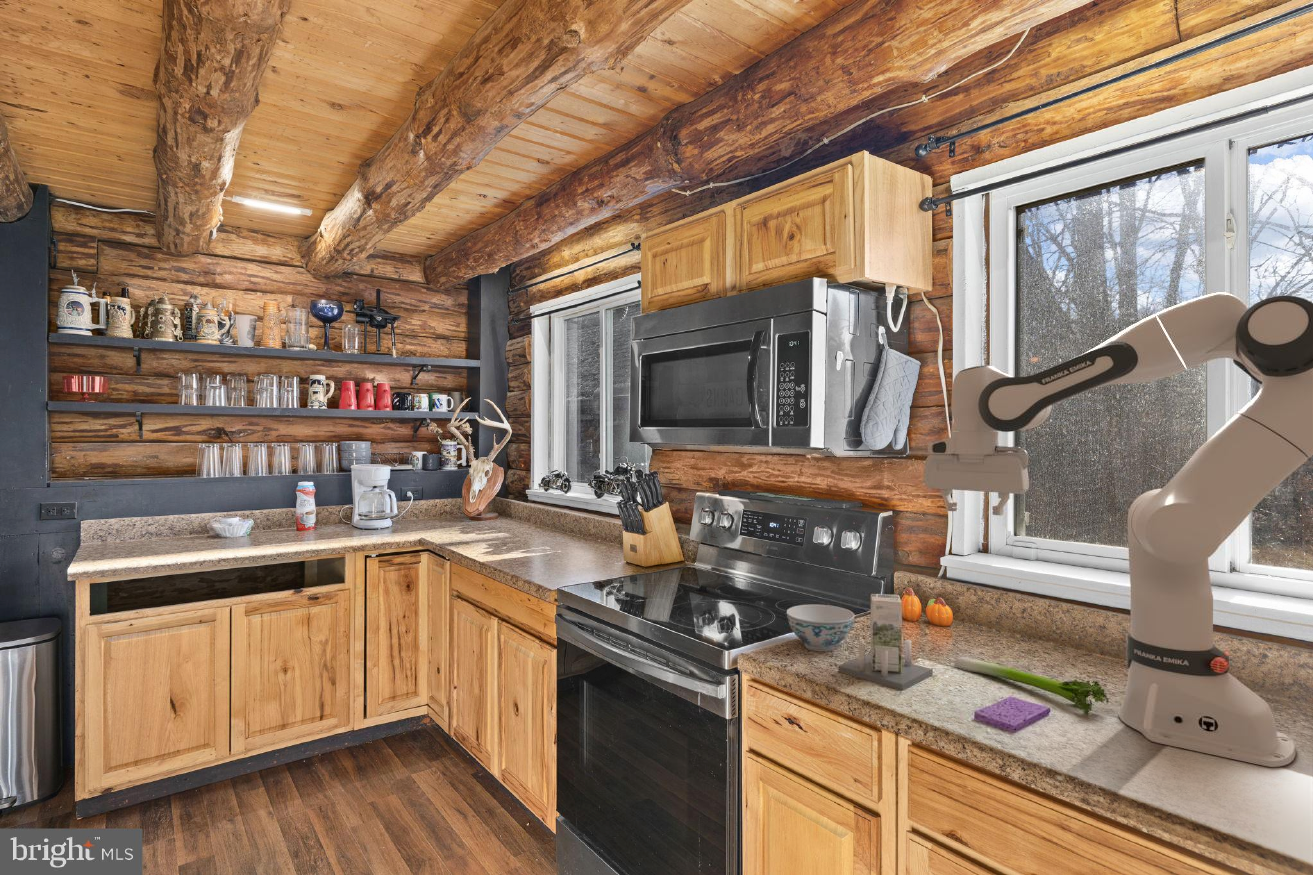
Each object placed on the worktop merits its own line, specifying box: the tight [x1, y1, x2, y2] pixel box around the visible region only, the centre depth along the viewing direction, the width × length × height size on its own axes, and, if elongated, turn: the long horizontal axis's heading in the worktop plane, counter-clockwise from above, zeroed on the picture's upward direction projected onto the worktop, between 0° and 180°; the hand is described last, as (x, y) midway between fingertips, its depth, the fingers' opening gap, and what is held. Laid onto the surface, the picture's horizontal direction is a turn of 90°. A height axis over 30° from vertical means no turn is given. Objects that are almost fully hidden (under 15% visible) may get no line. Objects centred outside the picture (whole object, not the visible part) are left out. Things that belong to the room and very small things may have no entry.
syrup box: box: [870, 593, 903, 673], centre depth 141 cm, size 6×6×14 cm
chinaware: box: [786, 604, 855, 652], centre depth 159 cm, size 15×15×8 cm
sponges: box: [973, 695, 1052, 733], centre depth 120 cm, size 7×13×2 cm, turn 126°
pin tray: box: [837, 639, 934, 691], centre depth 141 cm, size 14×12×6 cm
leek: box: [953, 656, 1111, 716], centre depth 132 cm, size 6×7×30 cm
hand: (974, 513), depth 143 cm, fingers open, 8 cm apart
